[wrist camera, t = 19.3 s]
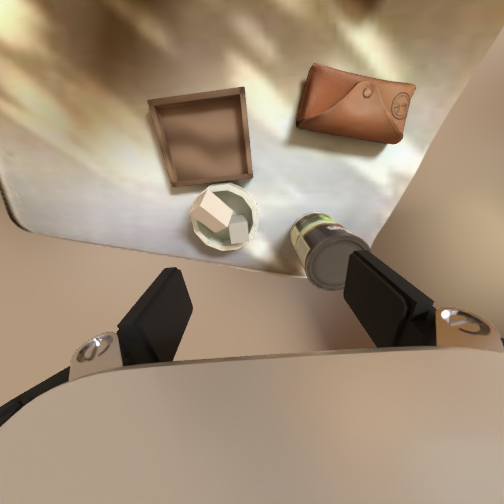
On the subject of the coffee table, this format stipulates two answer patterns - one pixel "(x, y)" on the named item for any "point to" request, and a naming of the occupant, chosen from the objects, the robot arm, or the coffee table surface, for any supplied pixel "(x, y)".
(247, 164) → the walnut tray
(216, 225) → the beige brick
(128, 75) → the coffee table surface
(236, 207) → the celadon bowl
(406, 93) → the sunglasses case
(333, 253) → the coffee can
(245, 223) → the light grey block
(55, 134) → the coffee table surface
